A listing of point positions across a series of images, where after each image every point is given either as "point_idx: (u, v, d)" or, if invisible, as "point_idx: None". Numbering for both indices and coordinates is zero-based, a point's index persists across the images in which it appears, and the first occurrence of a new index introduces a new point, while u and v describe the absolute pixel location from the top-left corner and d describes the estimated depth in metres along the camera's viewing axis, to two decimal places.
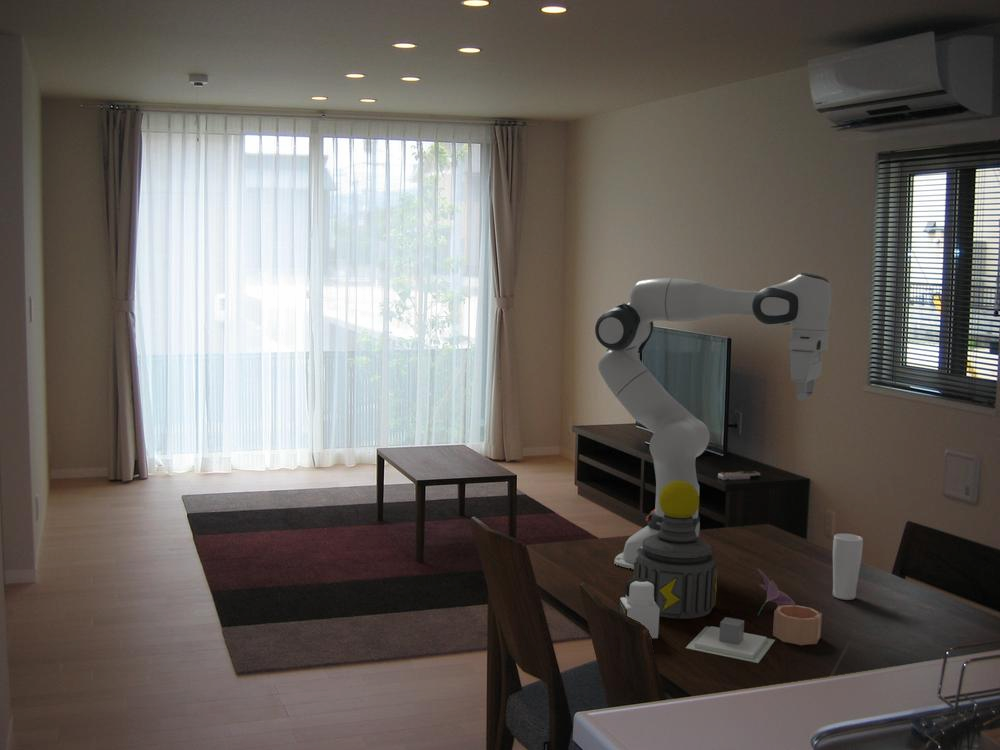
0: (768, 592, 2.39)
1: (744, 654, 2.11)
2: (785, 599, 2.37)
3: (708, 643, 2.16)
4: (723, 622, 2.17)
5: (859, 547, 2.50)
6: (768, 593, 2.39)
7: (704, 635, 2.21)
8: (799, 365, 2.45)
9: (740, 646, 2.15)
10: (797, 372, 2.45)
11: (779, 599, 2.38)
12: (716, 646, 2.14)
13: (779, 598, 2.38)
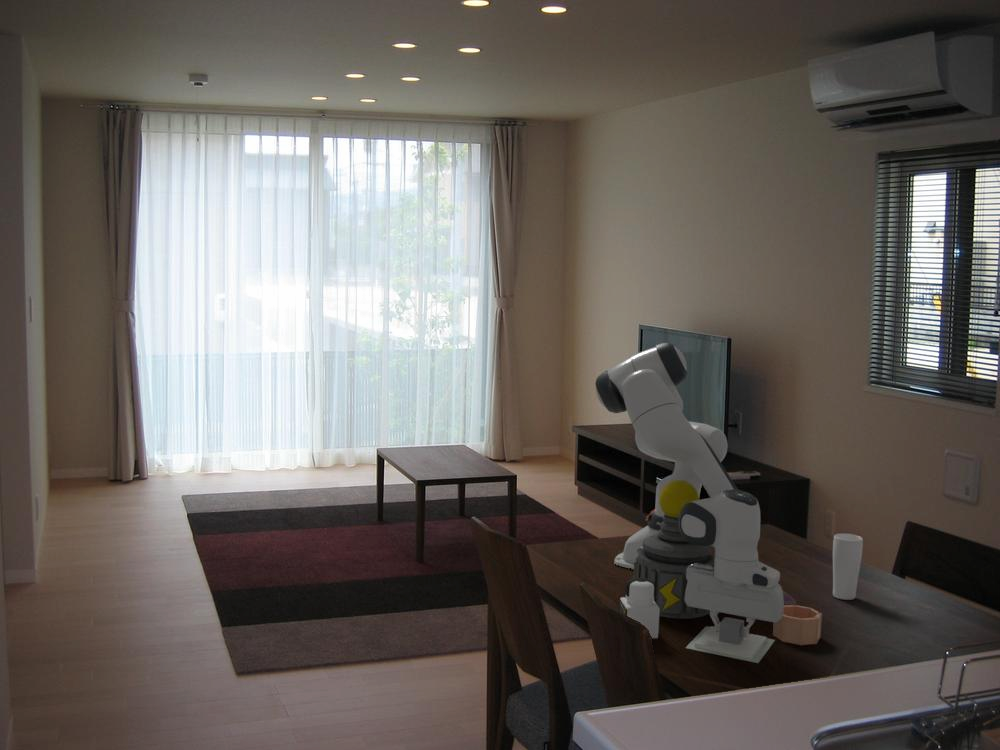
0: None
1: (744, 654, 2.11)
2: (786, 598, 2.37)
3: (708, 643, 2.16)
4: (723, 622, 2.17)
5: (859, 547, 2.50)
6: None
7: (704, 635, 2.21)
8: (781, 602, 2.13)
9: (740, 646, 2.15)
10: (781, 610, 2.13)
11: None
12: (716, 646, 2.14)
13: None
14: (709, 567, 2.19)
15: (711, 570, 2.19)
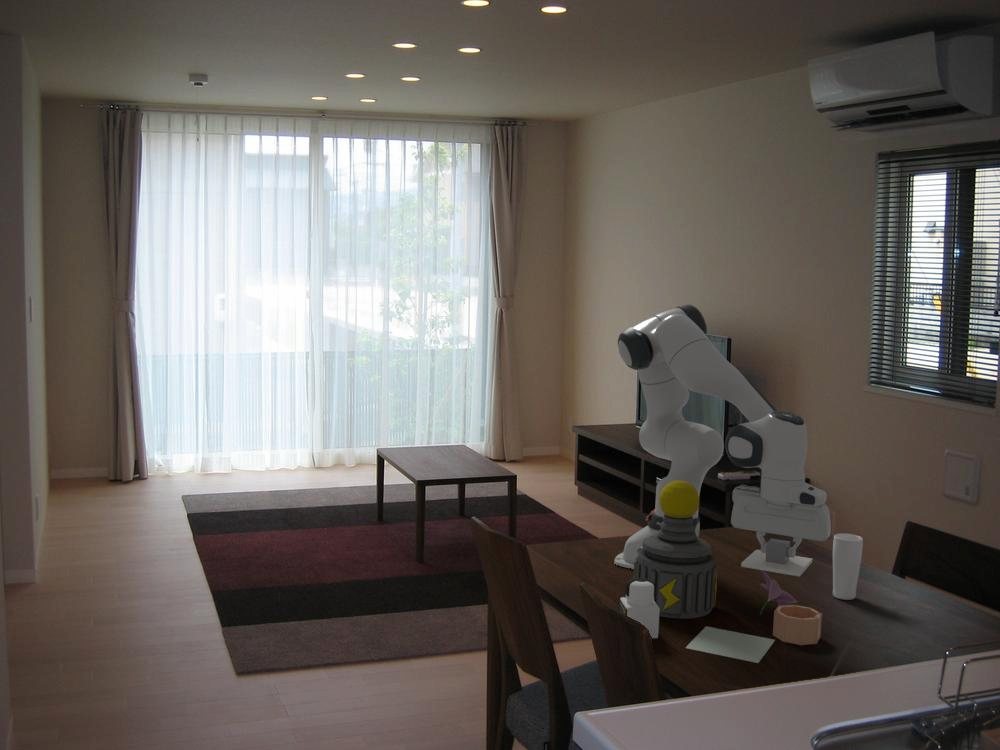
0: (770, 591, 2.40)
1: (791, 572, 2.13)
2: (787, 597, 2.38)
3: (755, 563, 2.18)
4: (769, 542, 2.19)
5: (859, 547, 2.50)
6: (770, 592, 2.40)
7: (750, 556, 2.22)
8: (828, 521, 2.15)
9: (787, 565, 2.17)
10: (828, 529, 2.14)
11: (781, 598, 2.39)
12: (763, 565, 2.16)
13: (781, 597, 2.39)
14: (756, 488, 2.21)
15: (758, 491, 2.21)
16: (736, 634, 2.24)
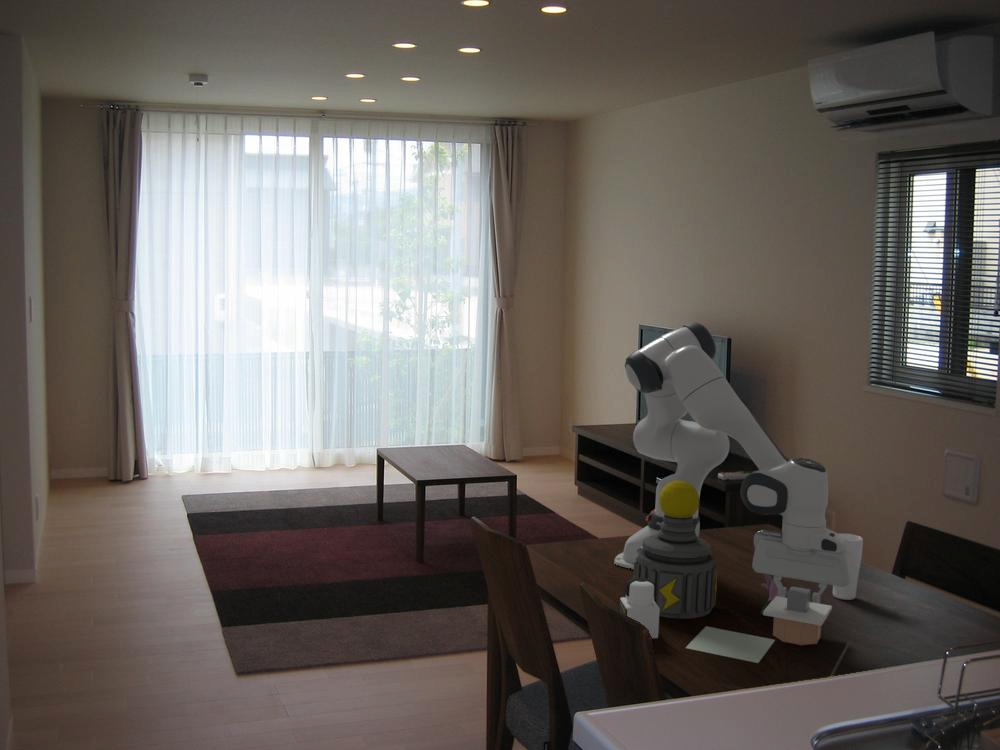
0: (770, 591, 2.40)
1: (813, 621, 2.16)
2: None
3: (776, 611, 2.21)
4: (790, 591, 2.22)
5: (859, 547, 2.50)
6: (770, 592, 2.40)
7: (771, 604, 2.26)
8: (849, 567, 2.18)
9: (808, 614, 2.20)
10: (849, 575, 2.18)
11: None
12: (784, 614, 2.19)
13: None
14: (777, 534, 2.24)
15: (779, 537, 2.24)
16: (736, 634, 2.24)
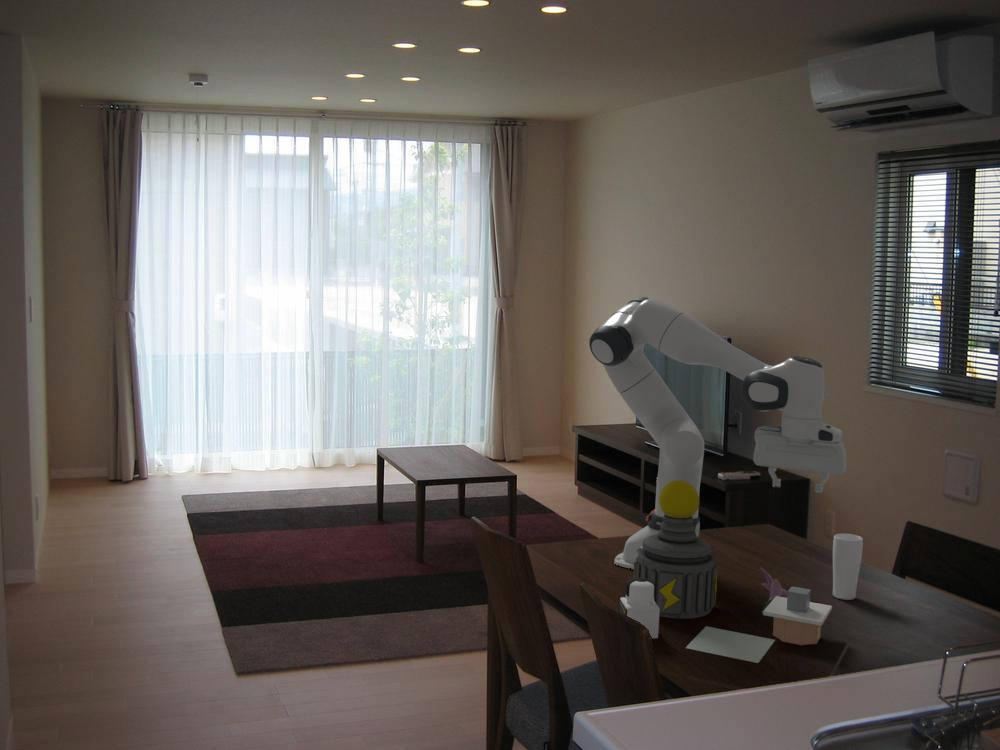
0: (771, 590, 2.41)
1: (813, 621, 2.16)
2: None
3: (776, 611, 2.21)
4: (790, 591, 2.22)
5: (859, 547, 2.50)
6: (771, 591, 2.41)
7: (771, 604, 2.26)
8: (844, 456, 2.32)
9: (808, 614, 2.20)
10: (845, 464, 2.32)
11: None
12: (784, 614, 2.19)
13: (782, 596, 2.39)
14: (777, 428, 2.38)
15: (778, 431, 2.38)
16: (736, 634, 2.24)
